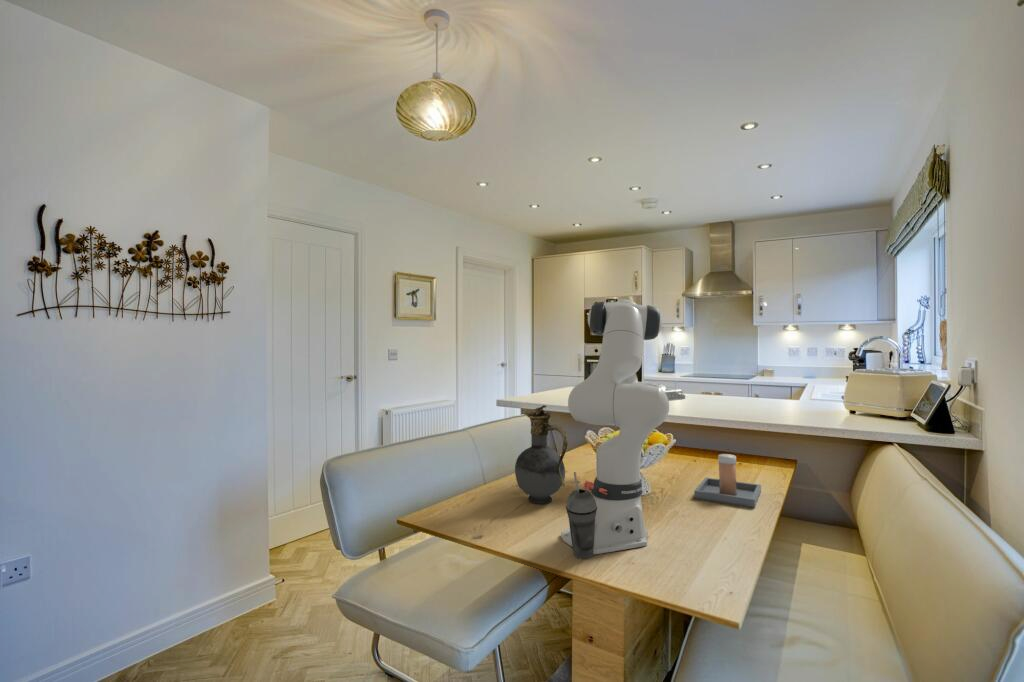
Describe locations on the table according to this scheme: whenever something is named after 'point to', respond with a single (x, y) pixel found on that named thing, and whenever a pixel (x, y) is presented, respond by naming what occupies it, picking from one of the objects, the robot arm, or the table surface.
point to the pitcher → (541, 461)
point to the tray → (744, 497)
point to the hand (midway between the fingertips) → (674, 398)
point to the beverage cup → (581, 521)
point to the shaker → (727, 474)
